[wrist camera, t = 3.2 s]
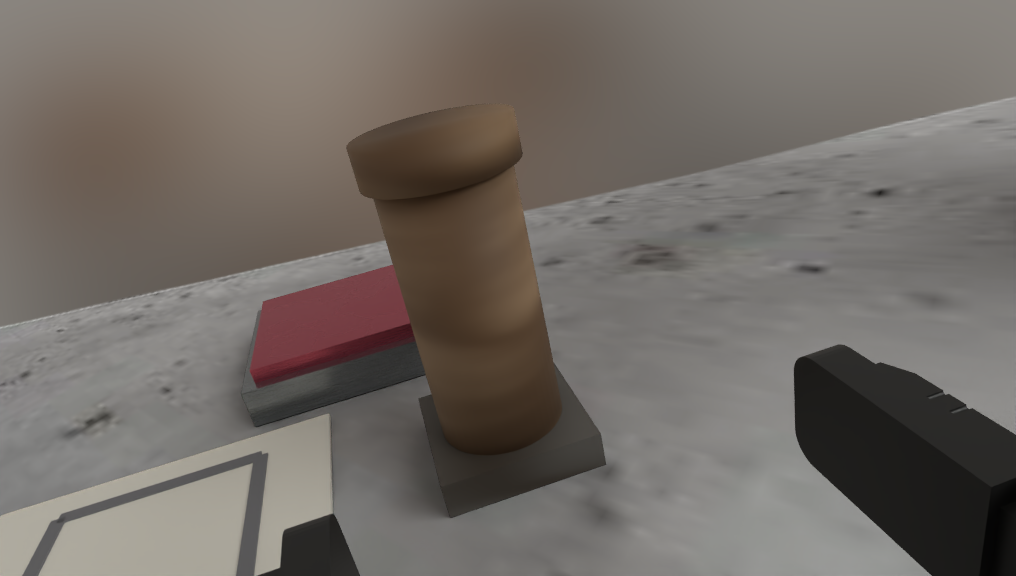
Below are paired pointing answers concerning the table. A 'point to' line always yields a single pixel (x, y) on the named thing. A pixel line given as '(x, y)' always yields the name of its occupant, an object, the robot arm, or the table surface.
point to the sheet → (181, 513)
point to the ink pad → (329, 346)
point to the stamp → (474, 304)
